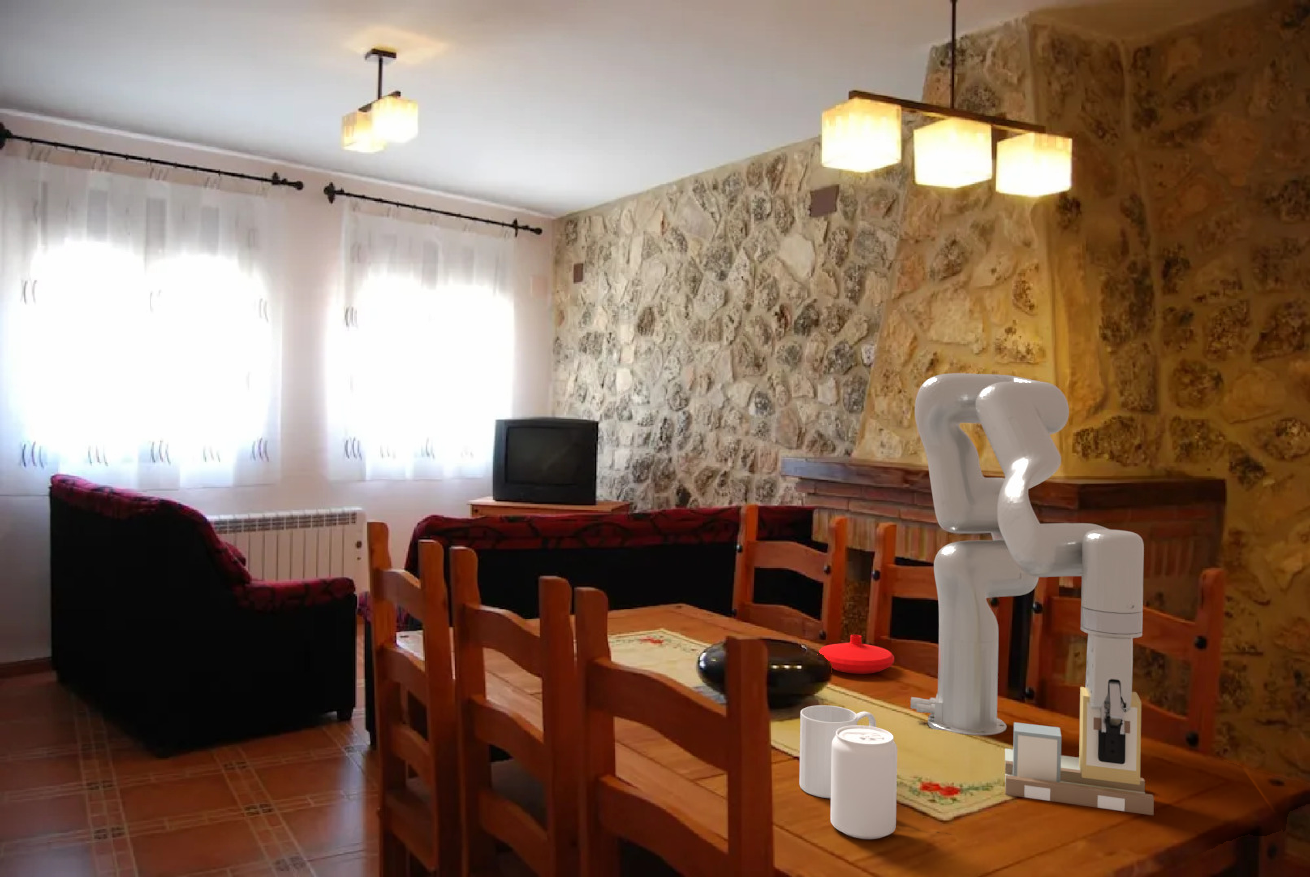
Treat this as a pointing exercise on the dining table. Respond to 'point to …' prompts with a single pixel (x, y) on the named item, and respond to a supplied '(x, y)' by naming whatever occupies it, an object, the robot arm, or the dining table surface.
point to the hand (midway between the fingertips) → (1109, 753)
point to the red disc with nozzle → (857, 656)
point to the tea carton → (1089, 743)
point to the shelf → (1079, 789)
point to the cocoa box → (1037, 752)
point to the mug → (822, 744)
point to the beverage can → (863, 782)
